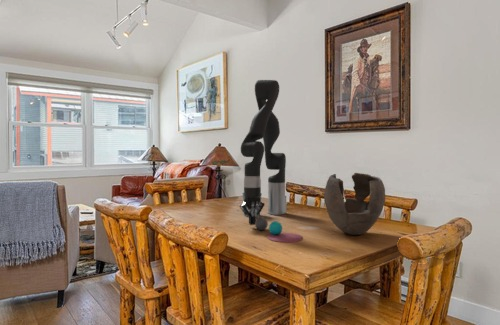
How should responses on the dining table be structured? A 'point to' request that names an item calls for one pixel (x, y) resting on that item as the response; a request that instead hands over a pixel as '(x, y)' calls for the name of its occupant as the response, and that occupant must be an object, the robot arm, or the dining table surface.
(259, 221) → the gray ball
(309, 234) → the dining table surface
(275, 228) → the teal ball
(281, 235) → the plum mark
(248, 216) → the drinking glass
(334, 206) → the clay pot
